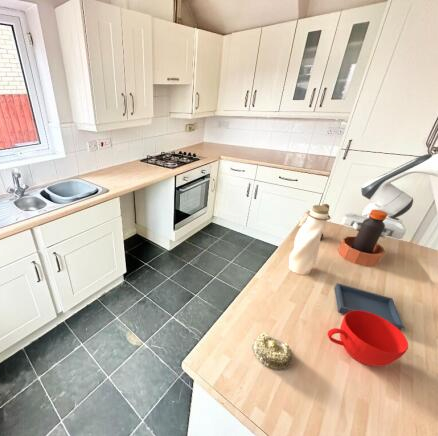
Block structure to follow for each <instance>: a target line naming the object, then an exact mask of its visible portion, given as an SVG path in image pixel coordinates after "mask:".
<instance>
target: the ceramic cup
mask: <svg viewBox="0 0 438 436" xmlns="http://www.w3.org/2000/svg"><path fill="white" fill-rule="evenodd" d="M335 334H339V337H340V340H339V339H336V338H333V335H335ZM327 337H328V339H329V340H330V341H331V342H332V343H334V344H336V345H339V346H343V348H344V350H345V351H346V353H347V354H348V355H349V356H350V357H351V358H352V359H353V360H355V361H356V362H358V363H360V364H363V365H366V366H372V367H383V366H388V365H391V364H394V363H395V362H396V361H398V360H399V359H400V358H402V357H403V355H405V354H406V353H407V351H408V349H409V343H408V342H409V341H408V340H407V338H406V336H405V335H404V333H403V332H402V331H400V330H399V329H398V328H397V327H395V326H394V325H393V324H391V323H390V322H388V321H387V320H385V319H383V318H382V317H380V316H377V315H375V314H372V313H369V312H366V311H360V310H354V311H350V312H348V313H347V314H346V315H345V314H344V316H343V318H342V321H341V324H340V328H338V327H337V328H336V327H335V328H330V329H329V330H328V331H327Z"/></svg>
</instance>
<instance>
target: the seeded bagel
mask: <svg viewBox="0 0 438 436" xmlns="http://www.w3.org/2000/svg"><path fill="white" fill-rule="evenodd" d="M252 351H253V354H254V356H255V357H256V359H257V360H258V362H260V363H261V365H263V366H264V367H267V368H269V369H270V370H274V371H283V370H286V369H288V368H289V367H290V366H291V365H292V349H291V348H290V345H289V343H286V342H285V343H283V342H282V341H280V340H279V339H277V338H275V337H272V336H270V335H269V334H268V333H267V332H263V333H260V334H258V336H257V337H256V338H255V340H253V343H252Z"/></svg>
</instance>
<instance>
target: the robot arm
mask: <svg viewBox="0 0 438 436" xmlns="http://www.w3.org/2000/svg"><path fill="white" fill-rule="evenodd" d="M411 174H424V175H429V176H433V177H437V178H438V153H435V154H430V153H426V154H422V155H420V156H418V157H416V158H413V159H412V160H410V161H407V162H405V163H404V164H402V165H399V166H397V167H395V168H394V169H391V170H390V171H388V172H385V173H384V174H382V175H379V176H376V177H374V178H371V179H370V180H368V181H367V182H365V183H364V184H363V185H362V186H361V189H360V191H361V195H362V196H363V197H364V198H366V199H368V200H370V201H371V202H369V203H368V204H367V205H366V206H365V207H364V208H363V211H362V214H357V213H352V212H348V213H344V214H343V218H342V221H341V224H342V225H344V226H348V227H351V228H353V229H354V230H355V231H357V232H359V230H360V228H361V225H362V223H363V221H364V220H365V219H368V218H369V215H370V213H371V211H372V210H381V211H384V212H386V213H387V214H388V215H387V217H386V219H385V220H384V221H383V223H384V224H385V227H384V229H383V231H382V233H381V235H380V237H379V238H382V239H385V238H386V237H390V238H393V239H397V240H402V239H403V238H404V236H405V234H406V232H407V231H406V226H405V225H404V224H403V219H401V218H399V217H401V216H403V215H404V214H406V213H407V212H409V210H411V208H412V207H413V204H414V198H413V197H412V196H411V195H410V194H408V193H406V192H405V191H403V190H401V189H400V188H399V187H397V186H396V185H394V184H392V183H393V182H395V181H398V180H400V179H402V178H403V177H406V176H408V175H411Z"/></svg>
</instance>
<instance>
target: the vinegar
mask: <svg viewBox="0 0 438 436" xmlns="http://www.w3.org/2000/svg"><path fill="white" fill-rule="evenodd" d="M387 215H388V214H387V213H386V212H384V211H381V210H372V211H371V213H370V215H369V218H368V219H365V220H364V221H363V223H362V225H361V228H360V230H359V231H357V233H356V235H355V236H356V238H355V240H354V243H353V245H352V247H351V248H353V249H356V250H358V251H360V252H365V253H369V254H371V253H372V251H373V249H374V247H375V245H376V243H378V241H379V239H380V238H381V237H380V235H381V233H382V231H383V229H384V227H385V224H384V223H383V221H384V220H385V219H386V217H387Z"/></svg>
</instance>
